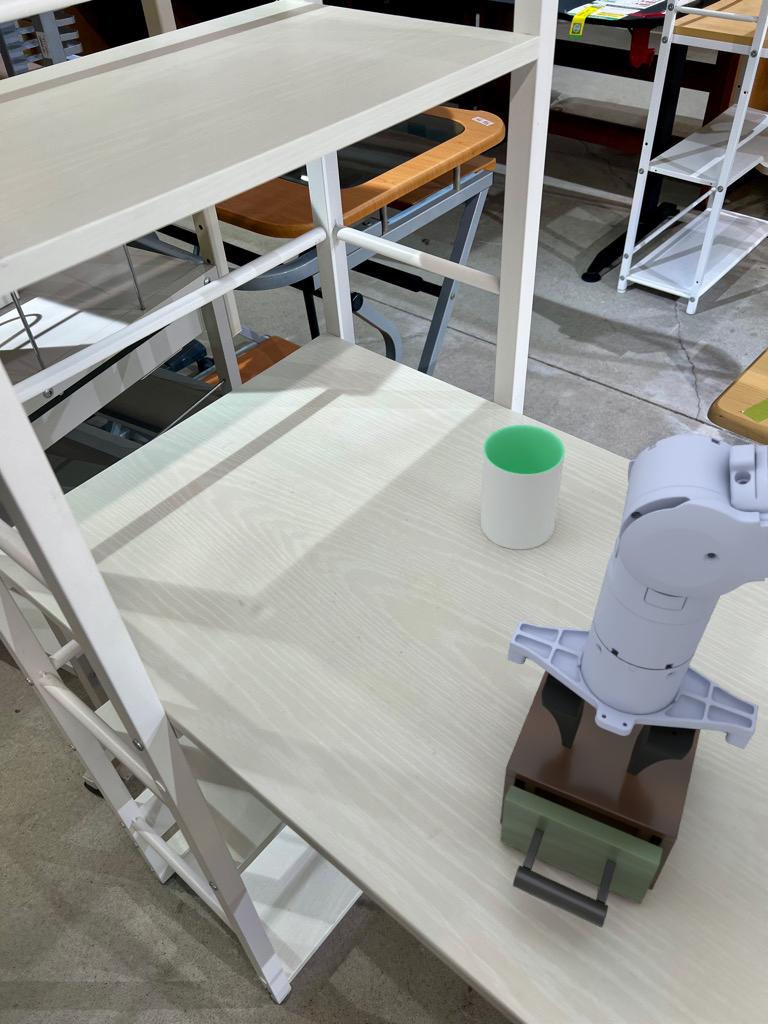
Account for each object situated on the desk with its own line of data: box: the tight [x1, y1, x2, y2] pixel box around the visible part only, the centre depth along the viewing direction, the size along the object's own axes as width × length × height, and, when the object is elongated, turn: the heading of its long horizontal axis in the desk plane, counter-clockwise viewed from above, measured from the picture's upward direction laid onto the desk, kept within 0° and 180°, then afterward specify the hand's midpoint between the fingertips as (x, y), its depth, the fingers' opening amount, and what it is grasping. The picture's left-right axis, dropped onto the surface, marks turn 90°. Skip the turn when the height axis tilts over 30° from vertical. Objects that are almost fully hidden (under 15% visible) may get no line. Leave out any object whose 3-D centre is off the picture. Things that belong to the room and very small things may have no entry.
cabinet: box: [499, 670, 702, 890], centre depth 57 cm, size 13×12×9 cm
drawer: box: [499, 782, 663, 928], centre depth 54 cm, size 16×10×7 cm, turn 153°
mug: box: [480, 424, 566, 550], centre depth 80 cm, size 12×8×10 cm
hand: (602, 748), depth 51 cm, fingers open, 4 cm apart
